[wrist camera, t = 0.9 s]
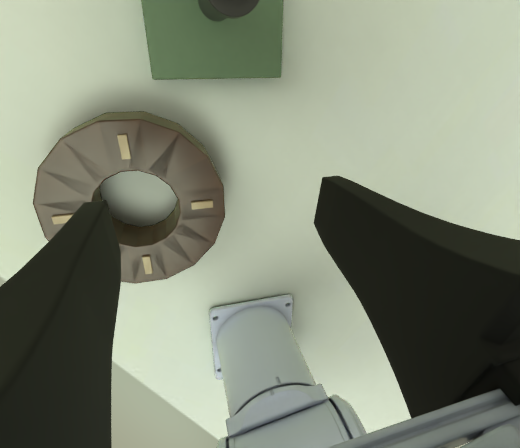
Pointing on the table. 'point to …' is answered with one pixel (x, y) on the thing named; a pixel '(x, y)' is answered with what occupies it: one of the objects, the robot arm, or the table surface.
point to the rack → (214, 38)
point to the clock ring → (132, 159)
